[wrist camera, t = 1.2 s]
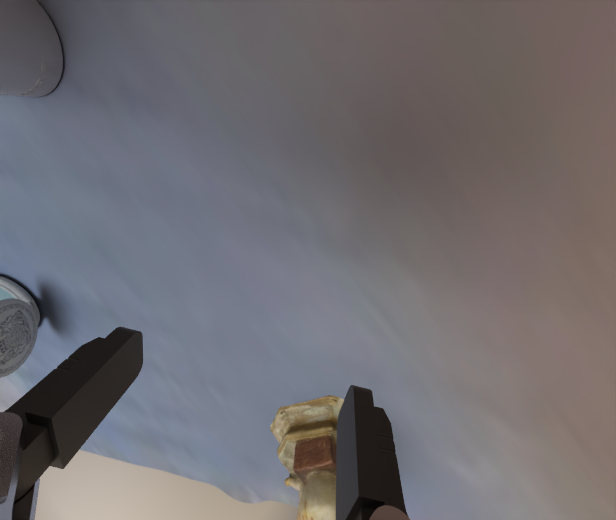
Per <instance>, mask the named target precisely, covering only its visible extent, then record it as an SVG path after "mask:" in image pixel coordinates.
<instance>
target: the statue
mask: <svg viewBox="0 0 616 520" xmlns="http://www.w3.org/2000/svg"><path fill="white" fill-rule="evenodd" d="M343 402H344V399H341V398H339V397H336V396H325V397H322V398H318V399H315V400H310V401H307V402H302V403H297V404H293V405H290V406H284V407H281V408H279V409H278V412H277V414H276V417H275V419H274V421H273V423H272V425H271V427H270V428H271V432H272V433H273V434H274V436H275V437H276V439H277V440H278V442H279V443H280V445H279V447H278V449H277V452H278V457H279V459H280V461H281V463H282V464H283V465H284V466H285V467H286V469H287V470H288V471H289V473H290V476H289V478H287V479H285V485H286V486H293V487H294V488H295V489H296V490H298V491H299V497H300V502H299V507H298V514H297V520H336V442H337V421H338V415H339V412H340V409H341V407H342V404H343Z"/></svg>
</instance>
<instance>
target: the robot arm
mask: <svg viewBox="0 0 616 520" xmlns="http://www.w3.org/2000/svg"><path fill="white" fill-rule="evenodd" d="M62 70H63V55H62V48H61V44H60V41H59V37H58V34H57V32H56V30H55V28H54V25H53V23H52V21H51V20H50V18H49V17H48V15H47V13H46V12H45V10H44V9H43V8H42V7H41V6H40V4H39V3H38V2H37V1H36V0H0V94H2V95H14V96H25V97H41V96H45V95H47V94H48V93H50V92H51V91H52V90H53V89H54V88H55V87H56V86H57V84H58V82H59V80H60V78H61V74H62ZM142 364H143V339H142V333H141V332H140V331H136V330H132V329H128V328H124V327H118V328H116V329H115V330H114V331H113V332H111V333H110V334H109V335H108V336H107V337H106V338H105V339H104V338H100V337H98V338H96V339H94V340H92V341H90V342H88V343H86V344H84V345H82V346H81V347H80V348H79V349H77V350H76V351H75V352H74V353H73V354H72V355H70V356H69V358H68V359H66V360H65V361H63V362H62V363H61V364H60V365H59V366H58V367H57V369H54V370H53V371H52V372H51V373H49V374H48V375H47V376H46V377H45V378H44V379H43V380H41V381H40V382H39V383H38V384H37V385H36V386H34V387H33V388H32V389H31V390H30V391H29V392H27V393H26V394H25V395H24V396H23V397H22V398H20V399H19V400H18V401H17V402H16V403H15V404H13V405H12V406H11V407H10V408H9V409H7V410H6V411H4V412H0V520H34V518H35V511H36V504H37V497H38V489H39V480H40V479H39V478H40V476H41V475H42V474H43V473H44V471H45V470H46V469H47V468H48V467H49V466H53V467H57V468H61V469H64V468H65V466H66V465H67V464H68V463H69V461H70V460H71V459H72V458H73V456H74V455H75V454H76V453H77V451H78V450H79V449H80V448H81V446H82V445H83V444H84V443H85V441H86V440H87V439H88V438H89V436H90V435H91V434H92V433H93V431H94V430H95V429H96V428H97V426H98V425H99V424H100V423H101V421H102V420H103V419H104V418H105V416H106V415H107V414H108V413H109V411H110V410H111V409H112V408H113V406H114V405H115V404H116V403H117V401H118V400H119V399H120V398H121V396H122V395H123V394H124V393H125V391H126V390H127V389H128V388H129V386H130V385H131V384H132V383H133V381H134V380H135V379H136V378H137V376H138V374H139V372H140V370H141V368H142ZM336 520H410V519H409V517H408V515H407V512H406V509H405V505H404V499H403V493H402V487H401V481H400V475H399V469H398V463H397V457H396V455H395V445H394V442H393V433H392V428H391V423H390V421H389V419H388V417H387V415H386V413H385V411H384V410H383V409H382V408H378V407H374V403H373V395H372V391H371V390H370V389H366V388H362V387H358V386H354V385H351V386H350V387H349V390H348V392H347V395H346V397H345V399H344V402H343V404H342V407H341V409H340V412H339V415H338V421H337V442H336Z"/></svg>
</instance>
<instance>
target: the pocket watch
mask: <svg viewBox="0 0 616 520" xmlns="http://www.w3.org/2000/svg"><path fill="white" fill-rule="evenodd" d="M39 321H40V313H39V310H38V307H37V305H36V303H35V301H34V300H33V298H32V297H31V296H30V294H29V293H28V292H27V291H26V290H25V289H23V288H22V287H21V286H19V285H18V284H16V283H15V282H13V281H11V280H9V279H7V278H4V277H1V276H0V378H1V377H4V376H7V375H9V374H11V373H12V372H14V371H15V370H17V369H18V368H19V367H20V366H21V365H22V364H23V363H24V362H25V361H26V359H27V358H28V356H29V355H30V353H31V351H32V349H33V347H34V344H35V341H36V338H37V332H38V324H39Z"/></svg>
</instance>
